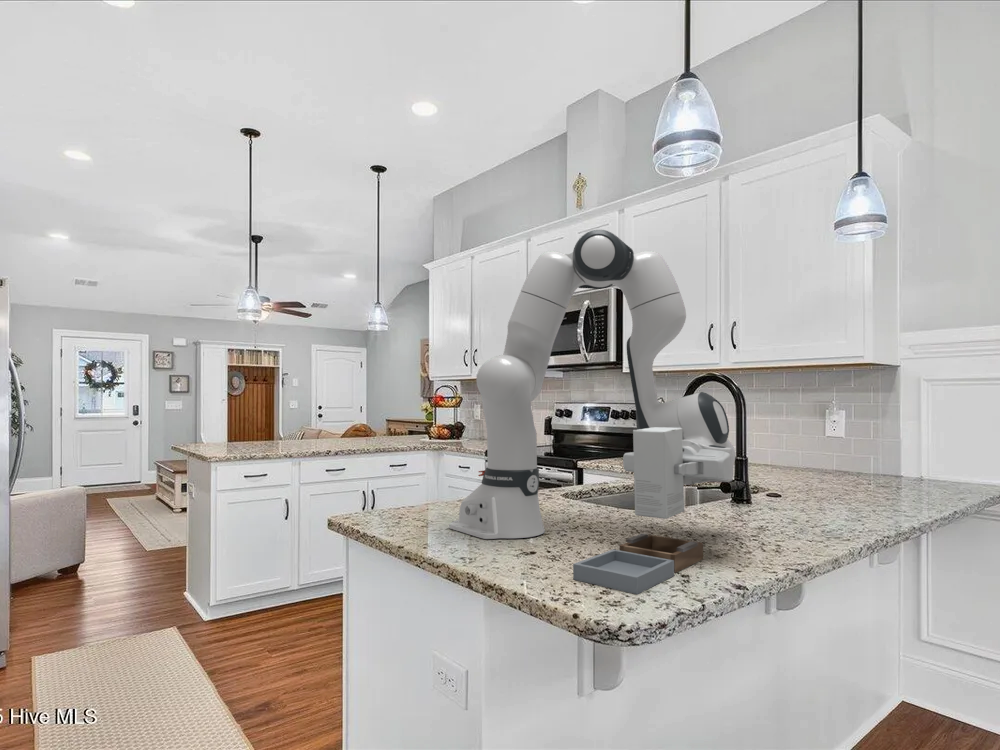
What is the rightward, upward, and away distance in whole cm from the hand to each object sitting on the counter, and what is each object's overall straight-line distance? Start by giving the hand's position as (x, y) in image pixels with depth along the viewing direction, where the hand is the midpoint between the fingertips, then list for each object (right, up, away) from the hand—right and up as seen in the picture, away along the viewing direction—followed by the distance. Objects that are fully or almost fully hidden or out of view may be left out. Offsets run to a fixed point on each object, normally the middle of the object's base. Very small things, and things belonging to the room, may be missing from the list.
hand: (656, 468), depth 109 cm
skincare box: (+1, -9, 0) cm, 9 cm away
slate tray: (-8, -17, -10) cm, 21 cm away
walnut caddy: (+1, -17, 0) cm, 17 cm away
